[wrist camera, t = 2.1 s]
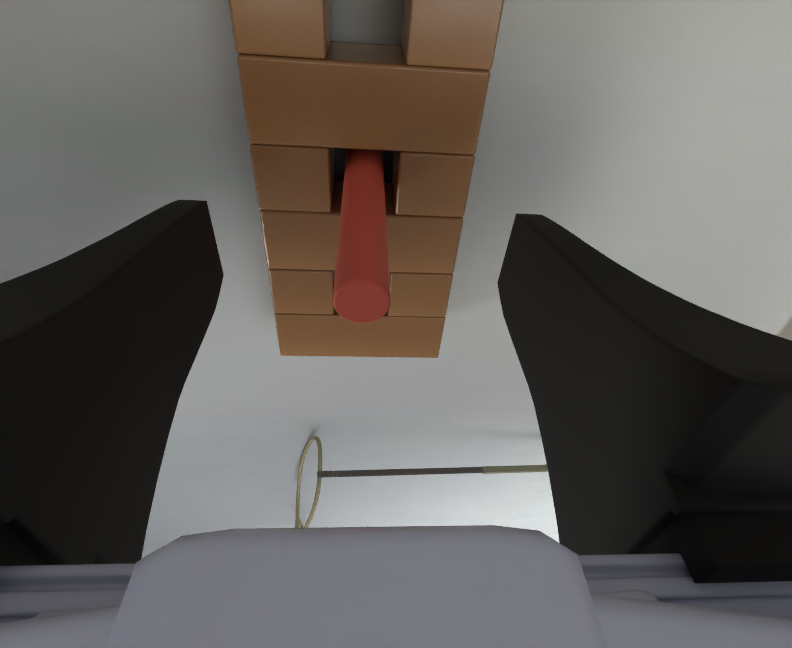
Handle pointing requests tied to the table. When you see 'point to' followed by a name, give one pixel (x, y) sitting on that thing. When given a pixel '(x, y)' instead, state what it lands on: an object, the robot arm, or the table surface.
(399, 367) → the table surface
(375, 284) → the red cylindrical rod
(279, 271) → the caddy
